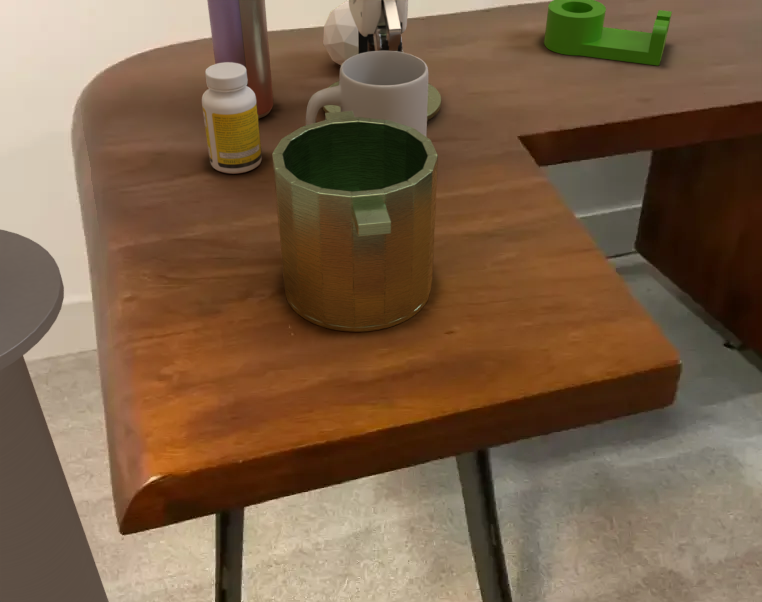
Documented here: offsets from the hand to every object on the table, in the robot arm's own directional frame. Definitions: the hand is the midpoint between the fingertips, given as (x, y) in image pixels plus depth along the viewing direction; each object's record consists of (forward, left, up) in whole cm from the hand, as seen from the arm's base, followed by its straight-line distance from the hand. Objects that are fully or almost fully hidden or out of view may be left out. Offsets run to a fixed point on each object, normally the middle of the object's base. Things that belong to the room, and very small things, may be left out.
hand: (380, 76), depth 102 cm
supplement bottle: (-17, -10, -4) cm, 20 cm away
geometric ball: (-1, +12, -4) cm, 13 cm away
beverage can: (-15, +2, -4) cm, 16 cm away
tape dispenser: (+31, +12, -4) cm, 34 cm away
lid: (0, 0, -3) cm, 3 cm away
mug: (-4, -15, -4) cm, 16 cm away
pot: (-8, -34, -4) cm, 35 cm away
